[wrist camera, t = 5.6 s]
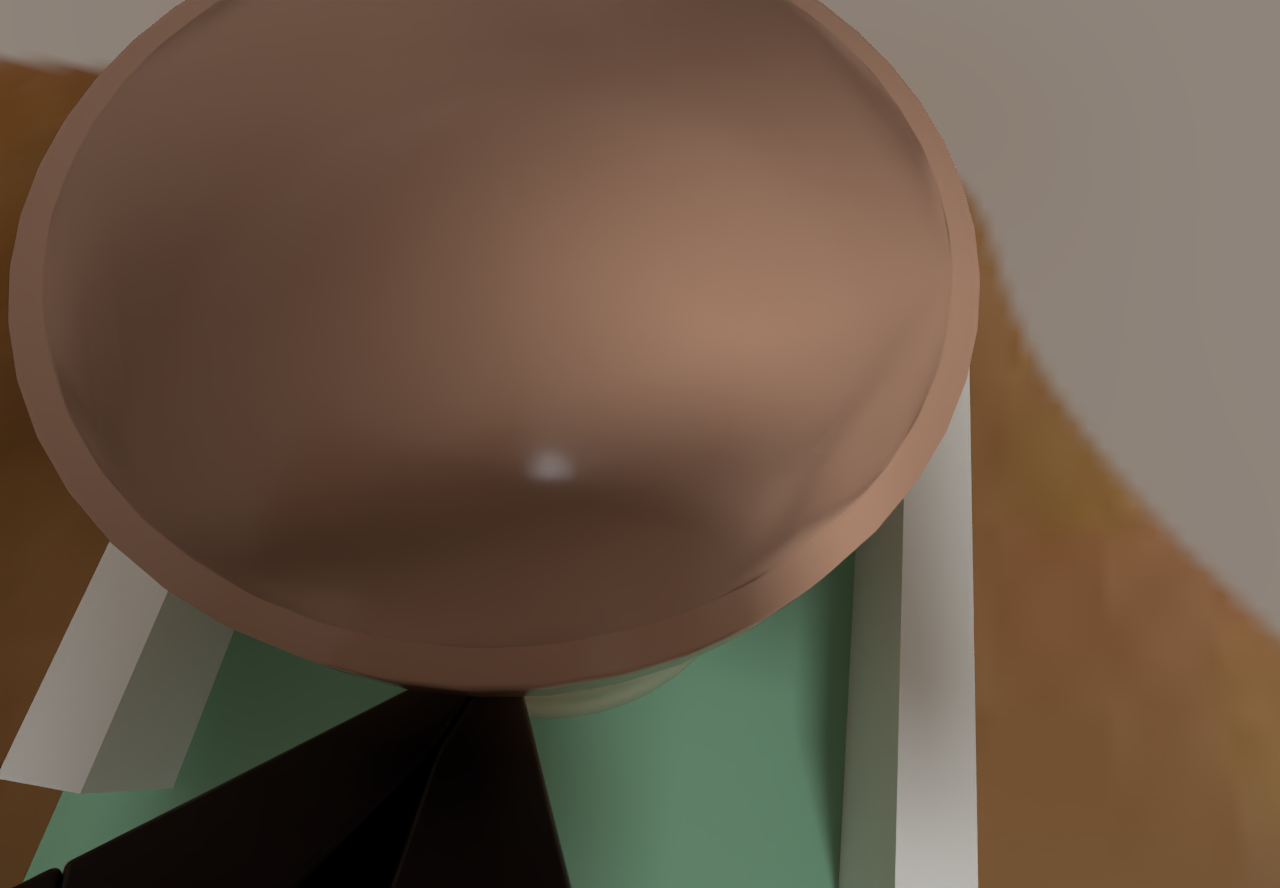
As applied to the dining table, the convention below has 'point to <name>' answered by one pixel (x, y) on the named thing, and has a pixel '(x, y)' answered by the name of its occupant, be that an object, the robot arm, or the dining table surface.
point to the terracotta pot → (494, 325)
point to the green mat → (589, 757)
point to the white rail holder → (877, 697)
